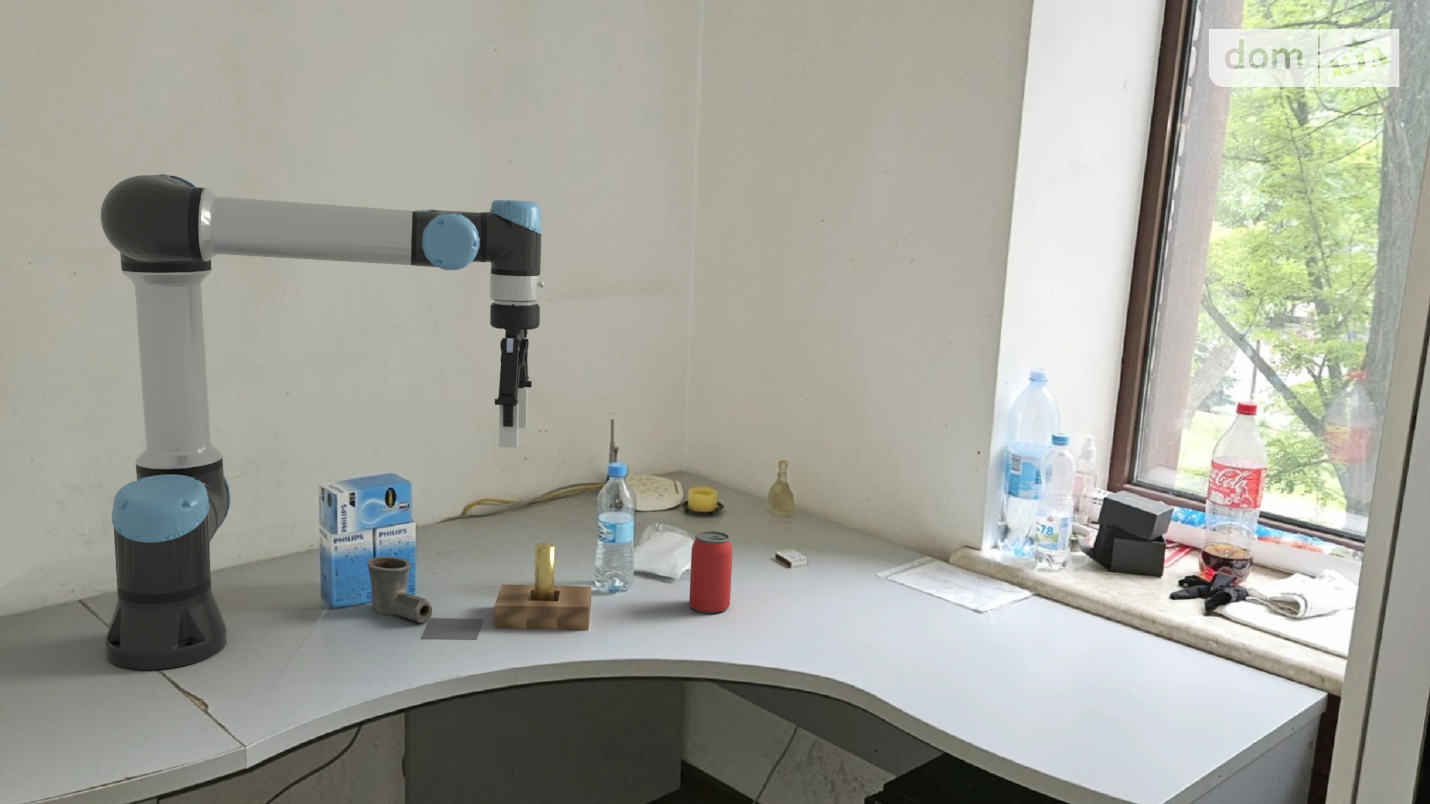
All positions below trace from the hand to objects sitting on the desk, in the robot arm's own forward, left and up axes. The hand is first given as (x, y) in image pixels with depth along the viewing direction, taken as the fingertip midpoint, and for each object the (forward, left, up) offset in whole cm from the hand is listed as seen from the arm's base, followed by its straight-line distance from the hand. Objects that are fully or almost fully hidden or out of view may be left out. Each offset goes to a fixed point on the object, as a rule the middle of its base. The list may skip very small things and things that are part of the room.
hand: (513, 437), depth 177 cm
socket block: (+6, -9, -27) cm, 29 cm away
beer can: (+32, -2, -27) cm, 42 cm away
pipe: (-16, -8, -27) cm, 32 cm away
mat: (-7, -14, -27) cm, 31 cm away
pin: (+6, -9, -27) cm, 29 cm away
